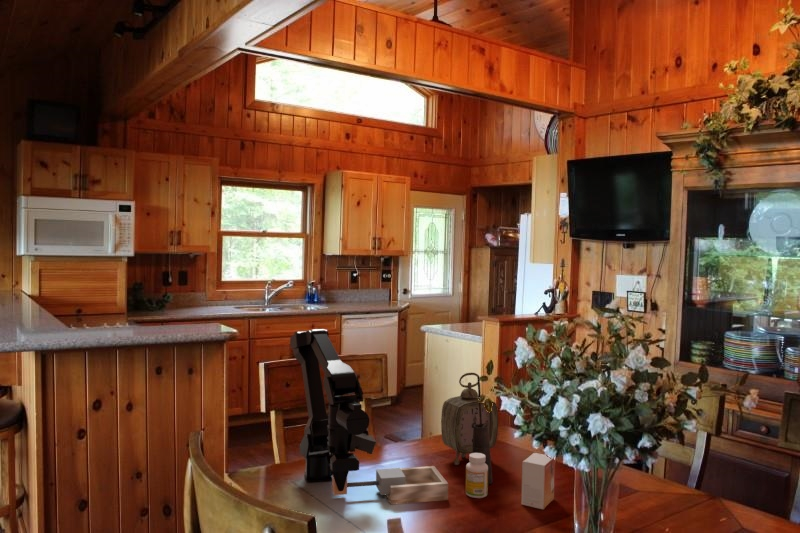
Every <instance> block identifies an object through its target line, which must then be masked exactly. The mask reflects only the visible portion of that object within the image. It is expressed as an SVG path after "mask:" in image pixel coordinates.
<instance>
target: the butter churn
mask: <svg viewBox="0 0 800 533" xmlns="http://www.w3.org/2000/svg"><path fill="white" fill-rule="evenodd" d="M476 377H477V378H476V379H477V382H478V385H477V393H478V398H479V397H480V396H481V378H480V379H479V377H480V375H479V374H478V376H476ZM481 397H482V396H481ZM479 416H480V424H476V425H474V428H473V446H472V447H473V448H472V449H473V453H482V454H484V455H485V456H486V461H485V463H486V464H487V466H488V486H489V485H491V484H493V471H492V469H493V468H492V456H491V455H492V454H491V448H490V442H489V431H488V422H485V423H484V424H482V414H481V403H479Z"/></svg>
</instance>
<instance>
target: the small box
mask: <svg viewBox="0 0 800 533" xmlns="http://www.w3.org/2000/svg"><path fill="white" fill-rule="evenodd" d="M546 455H547V454H544V453H543V454H542V453H537V452H533V453H532V454H531V455H529V456H528V457H527V458H525V459H524V460H523V461H521V463H522V464H521V465H522V467H521V499H520V500H521V503H520V504H521V505H522V506H527V507H531V508H535V509H539V510H545V508H546V507H547V506H549V504H550V503H551V502H553V501H554V500H555V473H556V472H555V471H556V459H555V460H553V459H550V458H549V457H547V456H546Z"/></svg>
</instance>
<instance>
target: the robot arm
mask: <svg viewBox="0 0 800 533" xmlns="http://www.w3.org/2000/svg"><path fill="white" fill-rule="evenodd" d="M329 337H330V336H329V331H328V329H325V328H313V329H309V330H301V331H299V330H297V331H294V333H293V334H292V335H291V336H290V339H289V345H290V346H289V347H290V349H292V354H293V357H294V358H295V359H296V361H297V362H298V363H299V364H300V365H301V371H302V378H303V380H302V381H303V385H304V387H303V388H304V392H305V400H306V407H307V408H306V409H307V414H308V420H307V423H306V424H305V427H304V431H303V432H304V435H303V438H302V439H301V441H300V444H299V454H300V455H301V456H303V457H304V459H305V471H304V477H305V482H306V483H315V482H327V481H329V482H331V481H333V477H334V480H335V482H336V485H337V488H338V491H343V490H344V486H345V482H346V479H347V480H348V475H349V472H354V471H359V470H360V460H359V458H358V456H357V455H356V454H355V452H356V450H359V451H362V452H365V453H367V454H369V455H373V453H374V452H373V451H374V449H375V446H376V444H377V440H376V439H375V437H374V436H373V435H371V434H370V435H369V430H368V428H369V425H370V417H369V415H368V413H367V412H366V411H365V410H363V409H362V408H363V406H362V404H361V402H364V397H363V396H364V391H363V389H362V388H363V387H362V386H361V383H360V380H359V378H358V376H357V374H356V373H355V370H353V368H352V367H351V366H350V365H349V364H346V363H345V362H343V361H342V359H341V358H340V356H339V354H338V352H337V350H336V348H335V347H334V345H333V343H332V341H331V338H329ZM320 367H321V369H322V371H323V374H324V377H323V381H322V374H321V369H320ZM324 392H325V393H324ZM325 394H326V396H327V397H326V400H325ZM326 401H327V402H328V411H327V406H326Z"/></svg>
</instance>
